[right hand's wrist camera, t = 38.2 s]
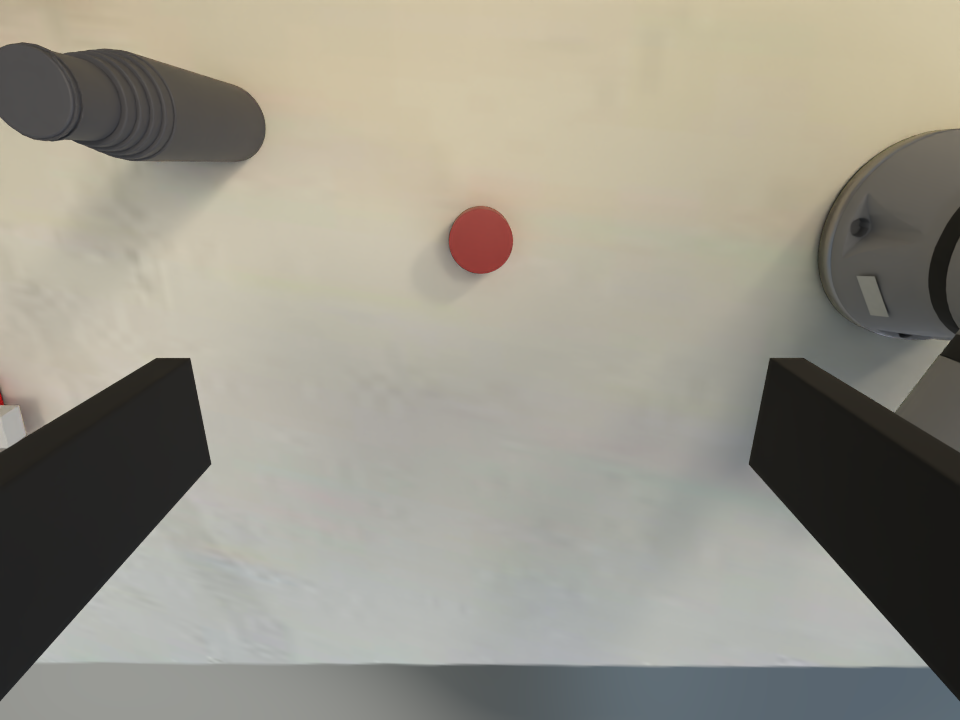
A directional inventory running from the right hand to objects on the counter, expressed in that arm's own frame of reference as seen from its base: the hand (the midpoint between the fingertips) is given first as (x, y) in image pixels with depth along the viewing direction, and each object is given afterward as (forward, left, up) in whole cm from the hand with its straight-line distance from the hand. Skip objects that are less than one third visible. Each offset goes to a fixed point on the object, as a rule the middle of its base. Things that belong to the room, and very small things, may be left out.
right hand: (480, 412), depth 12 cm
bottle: (+10, -17, -31) cm, 36 cm away
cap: (0, 0, -28) cm, 29 cm away
